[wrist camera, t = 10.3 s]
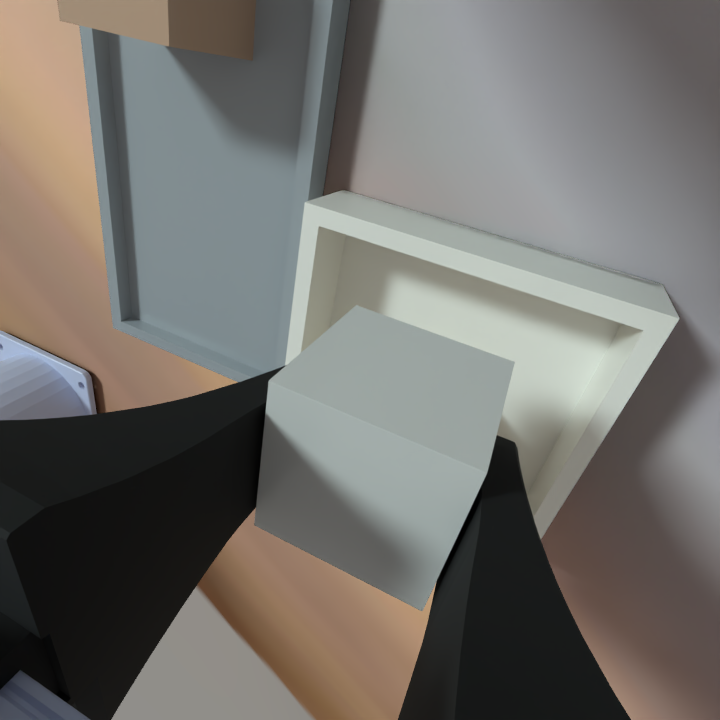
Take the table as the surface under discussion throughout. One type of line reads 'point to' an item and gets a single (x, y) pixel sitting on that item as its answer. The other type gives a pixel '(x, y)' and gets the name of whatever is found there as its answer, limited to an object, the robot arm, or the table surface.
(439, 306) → the dish
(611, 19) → the table surface
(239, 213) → the parts tray
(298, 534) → the light grey cube
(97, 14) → the tan cube
